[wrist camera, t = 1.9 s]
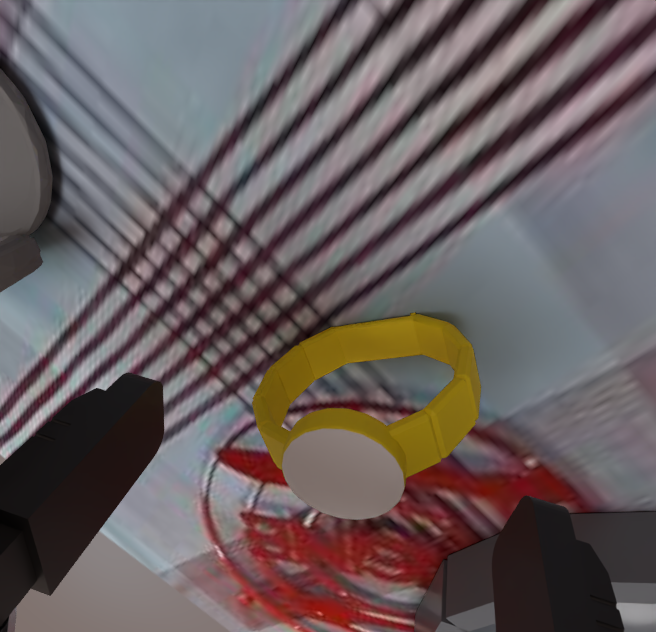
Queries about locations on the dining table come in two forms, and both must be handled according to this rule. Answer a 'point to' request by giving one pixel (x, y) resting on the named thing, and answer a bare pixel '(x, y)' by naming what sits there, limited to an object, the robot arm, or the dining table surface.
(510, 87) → the dining table surface
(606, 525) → the round dish
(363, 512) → the watch
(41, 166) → the pocket watch
